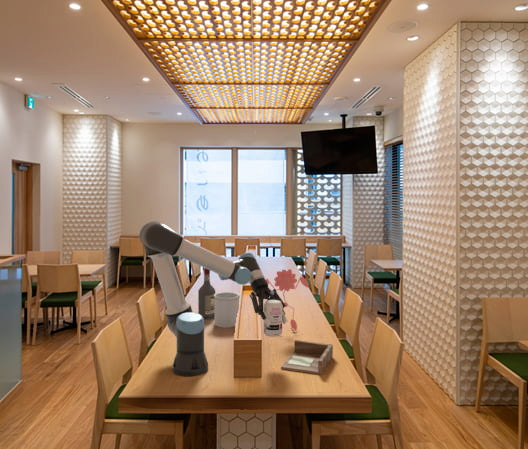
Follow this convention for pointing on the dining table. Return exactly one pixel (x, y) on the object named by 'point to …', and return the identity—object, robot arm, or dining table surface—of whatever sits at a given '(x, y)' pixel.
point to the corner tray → (309, 357)
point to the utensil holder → (226, 309)
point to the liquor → (206, 297)
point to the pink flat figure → (288, 286)
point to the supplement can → (273, 318)
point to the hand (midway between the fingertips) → (277, 323)
